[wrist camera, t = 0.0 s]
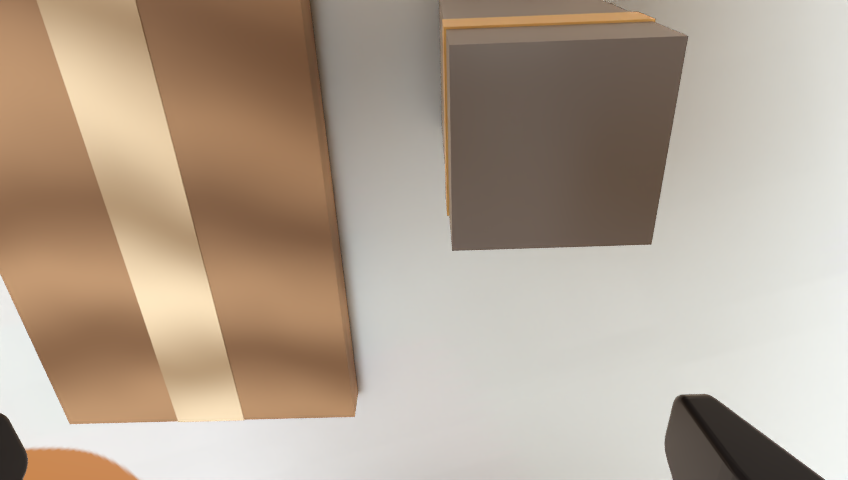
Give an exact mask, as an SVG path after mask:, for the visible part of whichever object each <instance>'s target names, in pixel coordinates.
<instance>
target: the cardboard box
mask: <svg viewBox="0 0 848 480" xmlns="http://www.w3.org/2000/svg"><path fill="white" fill-rule="evenodd" d="M0 274H1V276H2V279H3V281H4V283H5V285H6V287H7V289H8V292H9V294H10V296H11V298H12V300H13V302H14V304H15V307H16V309H17V311H18V313H19V315H20V317H21V320H22V322H23V324H24V326H25V328H26V330H27V333H28V335H29V337H30V339H31V341H32V343H33V345H34V348H35V350H36V352H37V354H38V356H39V358H40V361H41V363H42V365H43V367H44V369H45V371H46V374H47V376H48V378H49V380H50V382H51V384H52V386H53V389H54V391H55V393H56V395H57V397H58V399H59V402H60V404H61V406H62V408H63V410H64V412H65V415H66V417H67V419H68V421H69V423H70V424H89V423H128V422H167V421H178V422H199V421H238V420H245V419H284V418H323V417H355V411H356V404H357V397H358V388H357V380H356V372H355V364H354V356H353V348H352V340H351V332H350V323H349V315H348V307H347V299H346V291H345V283H344V275H343V267H342V259H341V250H340V242H339V234H338V226H337V218H336V210H335V202H334V194H333V186H332V177H331V169H330V161H329V153H328V145H327V137H326V129H325V121H324V113H323V104H322V96H321V88H320V80H319V72H318V64H317V56H316V48H315V40H314V31H313V23H312V15H311V7H310V0H0Z"/></svg>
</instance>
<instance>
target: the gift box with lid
mask: <svg viewBox="0 0 848 480" xmlns="http://www.w3.org/2000/svg"><path fill="white" fill-rule="evenodd" d="M439 22H440V67H441V111H442V136H443V147H444V159H445V185H446V206H447V216H449V218H450V230H451V242H452V251H458V250H490V249H522V248H554V247H586V246H617V245H649V244H651V243H652V238H653V232H654V226H655V221H656V215H657V209H658V204H659V198H660V192H661V187H662V181H663V175H664V170H665V164H666V158H667V153H668V147H669V141H670V136H671V130H672V124H673V119H674V113H675V107H676V102H677V96H678V90H679V85H680V79H681V74H682V68H683V62H684V57H685V51H686V45H687V40H688V36H687V35H685V34H682V33H680V32H677V31H675V30H673V29H670V28H668V27H665V26H663V25H660V24H658V23H656V22H655V18H652V17H650V16H647V15H645V14H642V13H640V12H629V11H627V10H624V9H622V8H619V7H617V6H615V5H612V4H610V3H607V2H605V1H603V0H439Z"/></svg>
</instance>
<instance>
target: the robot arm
mask: <svg viewBox="0 0 848 480" xmlns="http://www.w3.org/2000/svg"><path fill="white" fill-rule="evenodd" d="M665 452H666V457H667V461H668V464H669V468H670V471H671V474H672V478H673V480H825V479H824V478H822V477H821V476H819V475H818V474H817V473H815V472H814V471H813V470H811V469H810V468H809V467H807V466H806V465H805V464H803V463H802V462H801V461H799V460H798V459H796V458H795V457H794V456H792V455H791V454H790V453H788V452H787V451H786V450H784V449H783V448H782V447H780V446H779V445H778V444H776V443H775V442H774V441H772V440H771V439H769V438H768V437H767V436H765V435H764V434H763V433H761V432H760V431H759V430H757V429H756V428H755V427H753V426H752V425H751V424H749V423H748V422H747V421H745V420H744V419H742V418H741V417H740V416H738V415H737V414H736V413H734V412H733V411H732V410H730V409H729V408H728V407H726V406H725V405H724V404H722V403H721V402H720V401H718V400H717V399H715V398H714V397H712V396H710V395H707V394H688V395H679V396H677V397H676V399H675V400H674V402H673V406H672V410H671V414H670V419H669V423H668V427H667V431H666V436H665ZM27 461H28V458H27V453H26V451H25V449H24V447H23V445H22V443H21V441H20V439H19V438H18V436H17V434H16V432H15V430H14V428H13V426H12V424H11V423H10V421H9V419H8V418H7V417H6V416H5V415H3V414H1V413H0V480H23V477H24V475H25V473H26V469H27V464H28V462H27Z"/></svg>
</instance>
